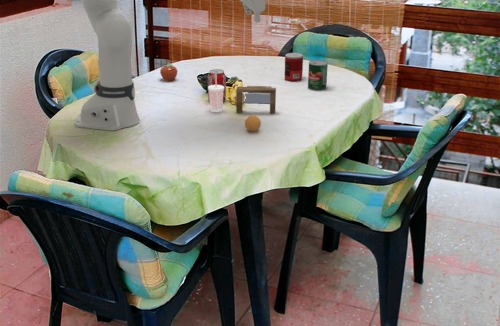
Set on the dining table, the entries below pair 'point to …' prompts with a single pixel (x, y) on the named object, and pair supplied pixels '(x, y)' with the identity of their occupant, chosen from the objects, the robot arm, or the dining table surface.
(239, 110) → the bridge
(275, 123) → the dining table surface
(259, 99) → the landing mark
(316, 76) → the canned tomato
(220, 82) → the soda can
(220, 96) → the beverage cup
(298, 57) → the canned food
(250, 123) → the ball
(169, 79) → the tomato
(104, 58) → the robot arm
